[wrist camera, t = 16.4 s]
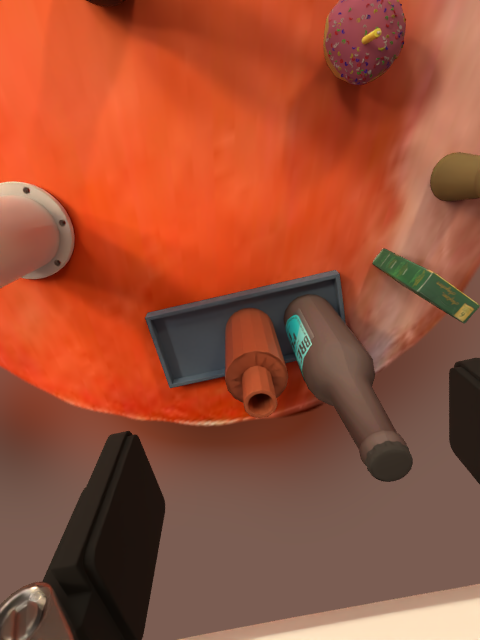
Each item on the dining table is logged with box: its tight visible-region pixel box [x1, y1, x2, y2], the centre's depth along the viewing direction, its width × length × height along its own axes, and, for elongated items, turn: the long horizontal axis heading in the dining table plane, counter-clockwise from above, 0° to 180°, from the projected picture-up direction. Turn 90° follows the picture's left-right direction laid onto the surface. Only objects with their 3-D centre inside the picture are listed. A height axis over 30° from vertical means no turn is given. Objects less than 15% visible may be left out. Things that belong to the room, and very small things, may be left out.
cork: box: [430, 152, 480, 201], centre depth 43 cm, size 6×6×11 cm
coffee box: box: [372, 248, 480, 323], centre depth 47 cm, size 8×3×13 cm, turn 57°
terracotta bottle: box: [225, 308, 288, 418], centre depth 46 cm, size 7×7×19 cm
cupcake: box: [323, 0, 406, 85], centre depth 37 cm, size 9×8×12 cm
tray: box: [145, 270, 346, 388], centre depth 55 cm, size 28×12×2 cm, turn 103°
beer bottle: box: [284, 294, 413, 482], centre depth 41 cm, size 8×8×30 cm
